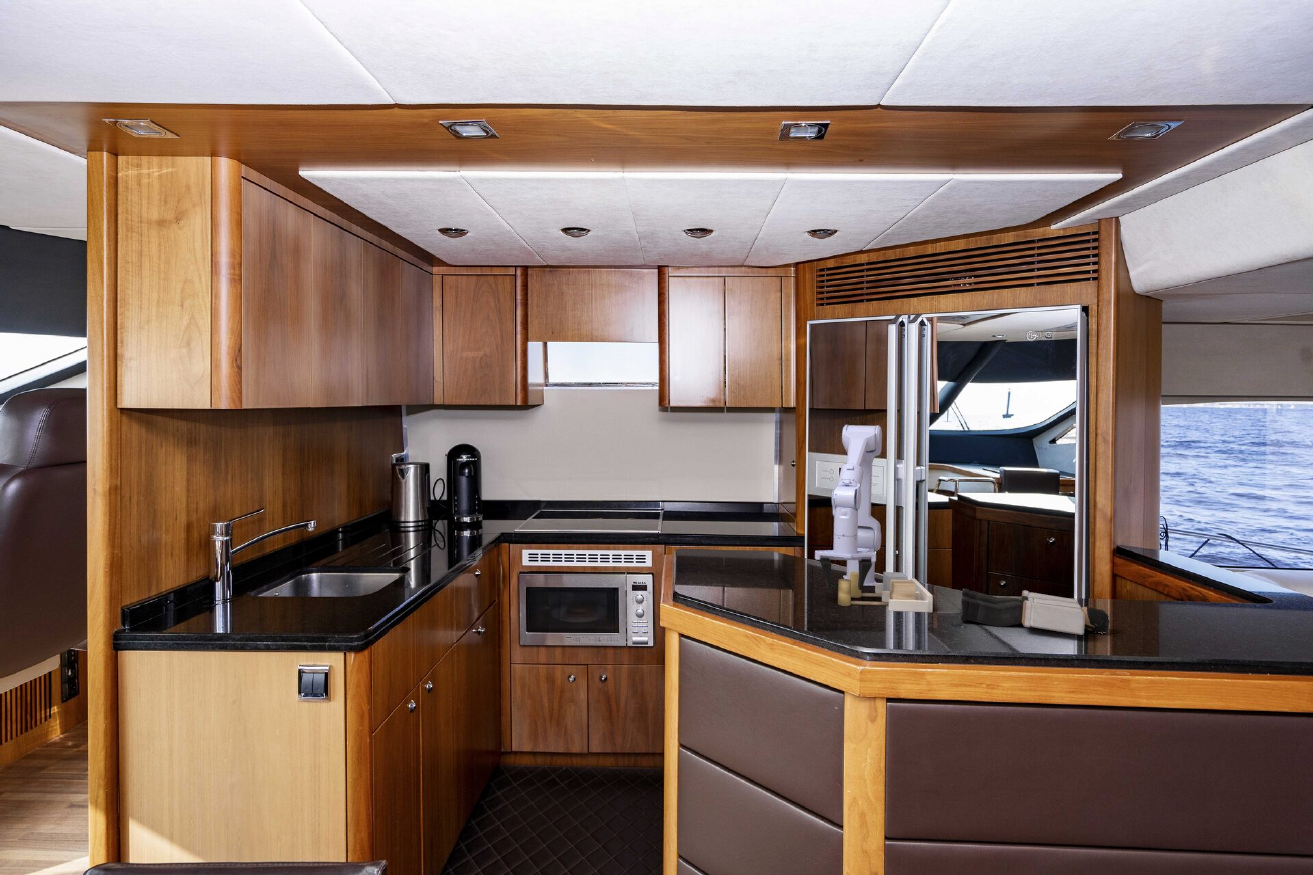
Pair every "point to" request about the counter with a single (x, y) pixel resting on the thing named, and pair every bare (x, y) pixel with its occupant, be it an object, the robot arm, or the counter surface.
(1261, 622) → the counter surface
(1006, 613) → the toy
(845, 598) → the beige long piece
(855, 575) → the grey handled block
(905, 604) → the rack
